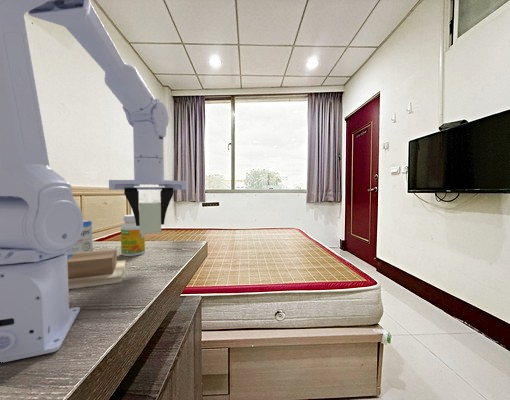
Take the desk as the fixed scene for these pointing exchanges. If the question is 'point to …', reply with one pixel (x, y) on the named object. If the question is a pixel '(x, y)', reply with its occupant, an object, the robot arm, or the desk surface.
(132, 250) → the supplement bottle
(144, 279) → the desk surface
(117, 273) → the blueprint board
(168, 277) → the desk surface
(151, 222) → the sage pillar
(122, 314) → the desk surface
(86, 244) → the medicine box
